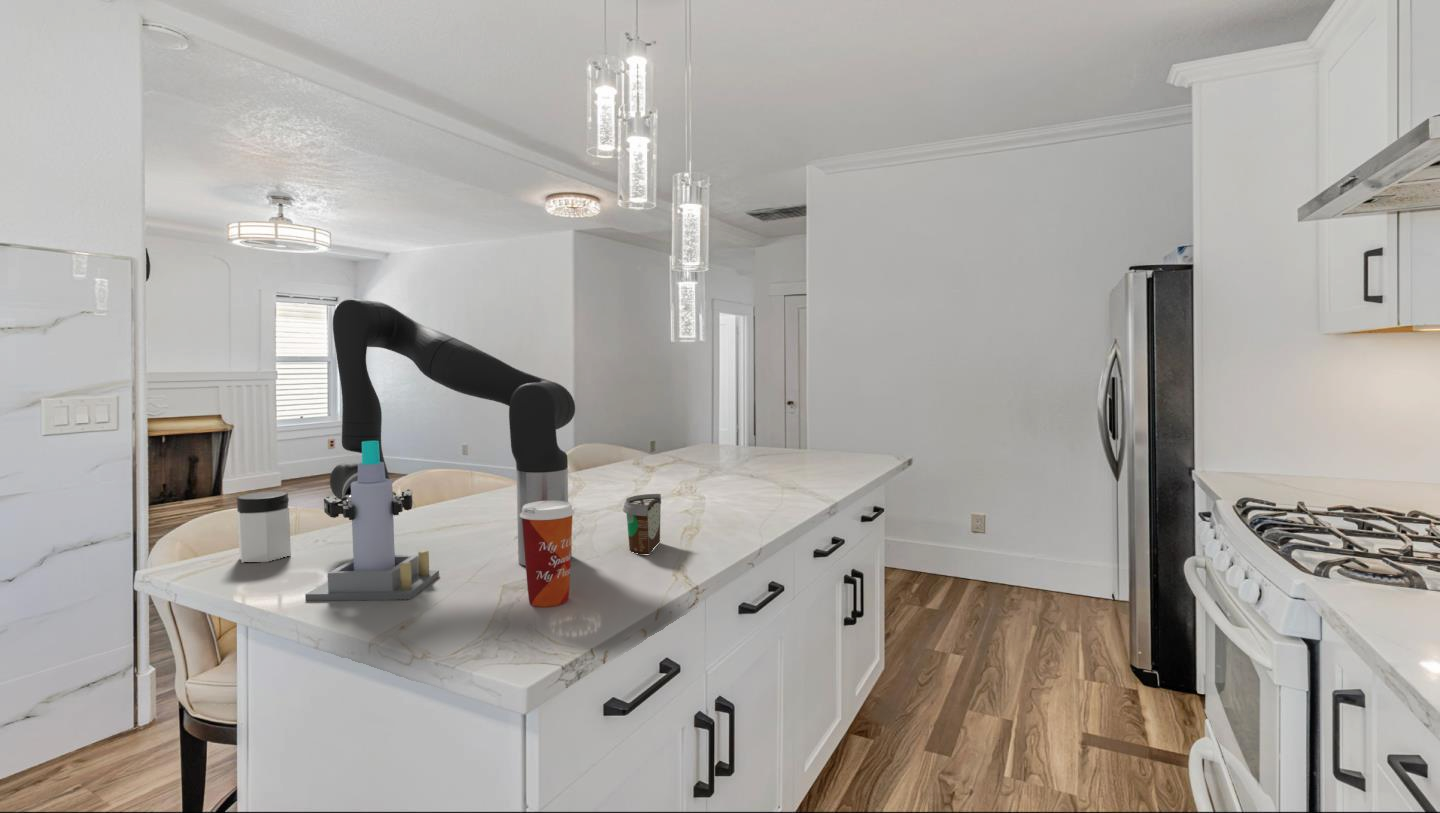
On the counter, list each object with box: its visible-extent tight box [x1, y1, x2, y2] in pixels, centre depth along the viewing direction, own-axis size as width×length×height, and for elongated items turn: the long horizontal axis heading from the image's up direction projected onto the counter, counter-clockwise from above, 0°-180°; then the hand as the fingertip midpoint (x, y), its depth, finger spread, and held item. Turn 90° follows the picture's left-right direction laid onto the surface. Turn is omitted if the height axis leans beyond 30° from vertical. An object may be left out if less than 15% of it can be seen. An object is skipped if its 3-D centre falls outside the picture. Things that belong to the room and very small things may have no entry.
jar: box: [236, 491, 292, 564], centre depth 132 cm, size 9×8×12 cm
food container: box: [622, 493, 662, 555], centre depth 137 cm, size 12×6×10 cm, turn 172°
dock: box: [304, 549, 440, 602], centre depth 114 cm, size 16×12×5 cm
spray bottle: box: [351, 441, 396, 571], centre depth 113 cm, size 6×6×22 cm
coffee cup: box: [520, 501, 576, 608], centre depth 107 cm, size 8×8×15 cm
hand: (374, 511), depth 111 cm, fingers closed on spray bottle, 6 cm apart
